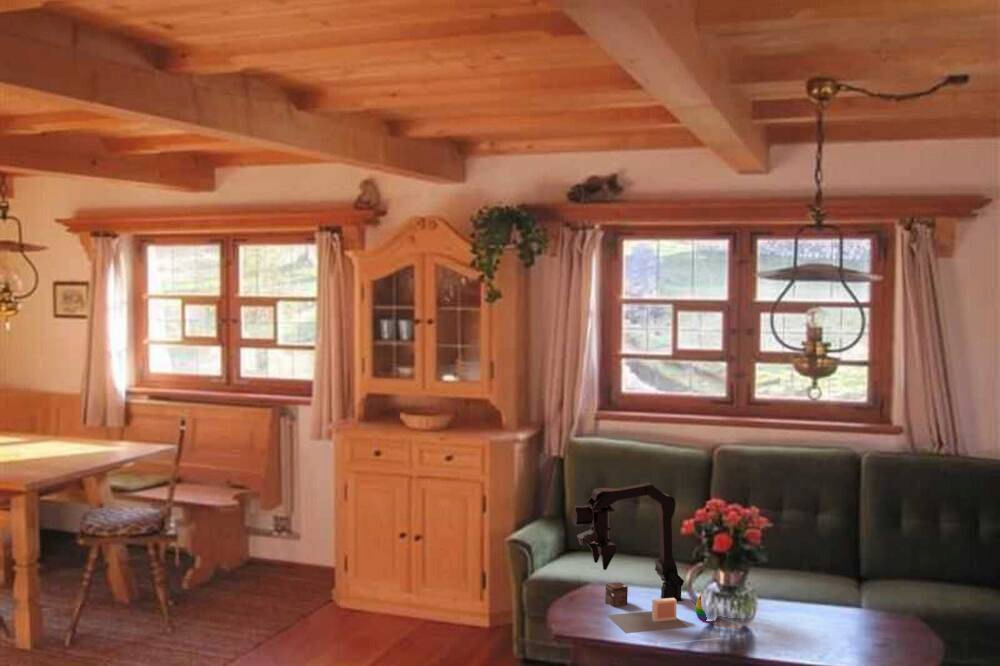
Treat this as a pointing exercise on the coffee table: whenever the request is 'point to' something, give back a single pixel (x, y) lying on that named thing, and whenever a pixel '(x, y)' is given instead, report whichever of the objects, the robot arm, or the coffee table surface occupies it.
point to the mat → (643, 622)
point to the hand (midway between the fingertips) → (600, 566)
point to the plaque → (664, 609)
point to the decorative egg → (700, 610)
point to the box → (616, 594)
